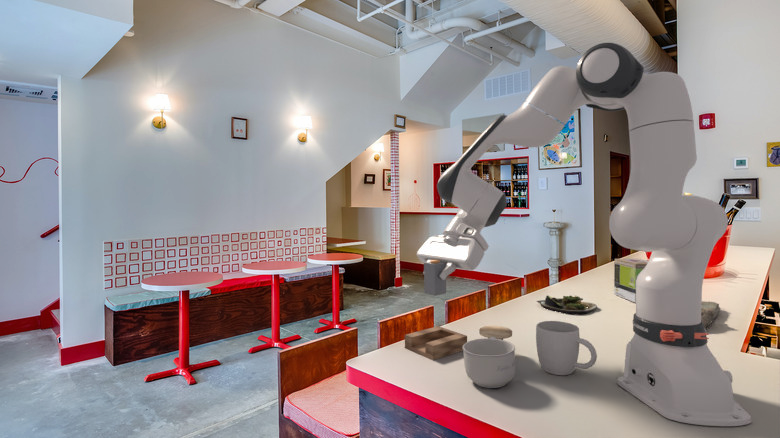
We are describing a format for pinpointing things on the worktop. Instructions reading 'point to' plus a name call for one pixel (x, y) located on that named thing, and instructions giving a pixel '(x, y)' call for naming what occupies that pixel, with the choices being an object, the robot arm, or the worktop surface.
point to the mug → (561, 347)
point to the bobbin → (495, 332)
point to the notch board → (435, 342)
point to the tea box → (627, 277)
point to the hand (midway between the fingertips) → (433, 276)
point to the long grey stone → (709, 312)
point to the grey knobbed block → (434, 278)
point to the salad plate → (567, 305)
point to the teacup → (489, 361)
